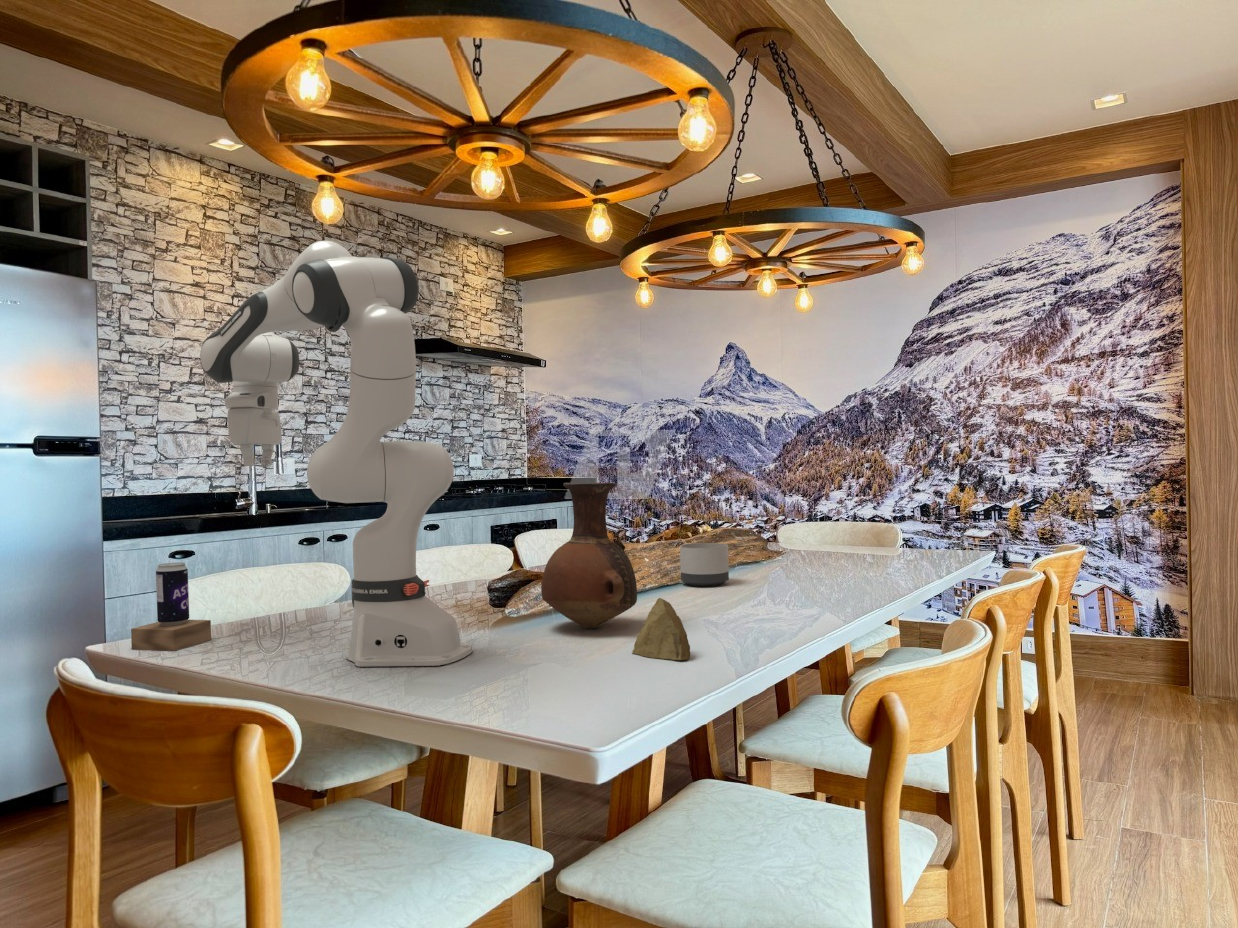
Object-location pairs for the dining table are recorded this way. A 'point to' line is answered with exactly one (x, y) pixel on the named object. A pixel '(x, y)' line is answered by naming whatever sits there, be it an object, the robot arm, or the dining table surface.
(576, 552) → the vase
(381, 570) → the robot arm
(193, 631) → the walnut block
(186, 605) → the beverage can
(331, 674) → the dining table surface
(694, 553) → the planter
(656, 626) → the rock
